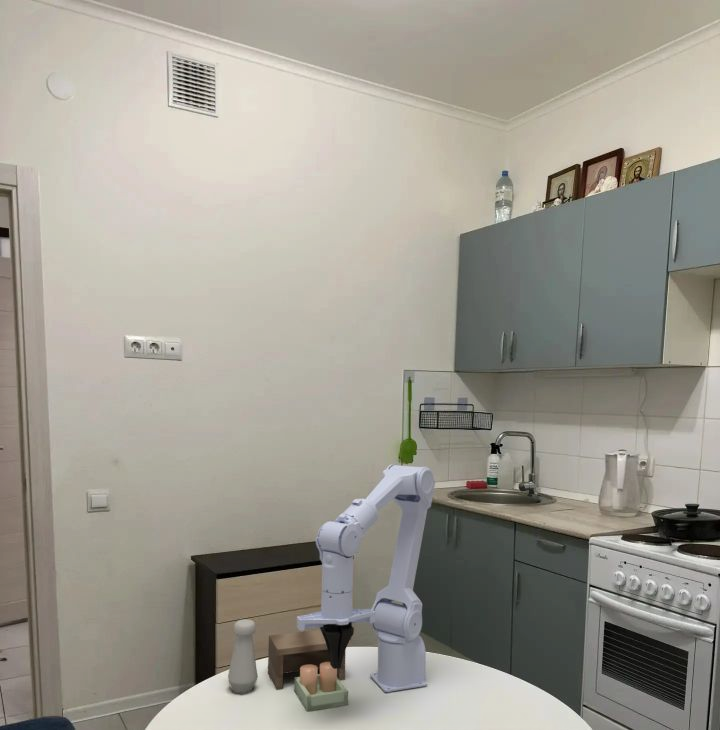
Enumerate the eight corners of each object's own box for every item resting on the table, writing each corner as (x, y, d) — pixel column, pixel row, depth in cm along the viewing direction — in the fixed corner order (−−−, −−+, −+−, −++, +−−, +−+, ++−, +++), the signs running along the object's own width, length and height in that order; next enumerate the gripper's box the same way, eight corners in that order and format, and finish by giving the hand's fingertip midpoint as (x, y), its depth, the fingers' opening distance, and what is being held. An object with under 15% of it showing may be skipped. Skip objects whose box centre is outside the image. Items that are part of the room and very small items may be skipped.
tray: (332, 684, 122) (333, 658, 122) (347, 704, 113) (348, 676, 114) (294, 690, 119) (294, 663, 119) (307, 711, 111) (307, 682, 111)
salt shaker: (250, 697, 116) (252, 627, 117) (222, 694, 117) (225, 625, 118) (261, 684, 121) (263, 617, 123) (234, 681, 123) (237, 615, 124)
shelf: (332, 664, 132) (333, 628, 132) (345, 679, 124) (345, 641, 125) (267, 673, 127) (268, 635, 127) (276, 689, 119) (277, 649, 120)
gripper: (305, 599, 104) (303, 681, 103) (382, 591, 109) (381, 669, 108) (294, 588, 110) (292, 664, 109) (367, 581, 116) (366, 655, 114)
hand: (335, 666), depth 109 cm, fingers closed
